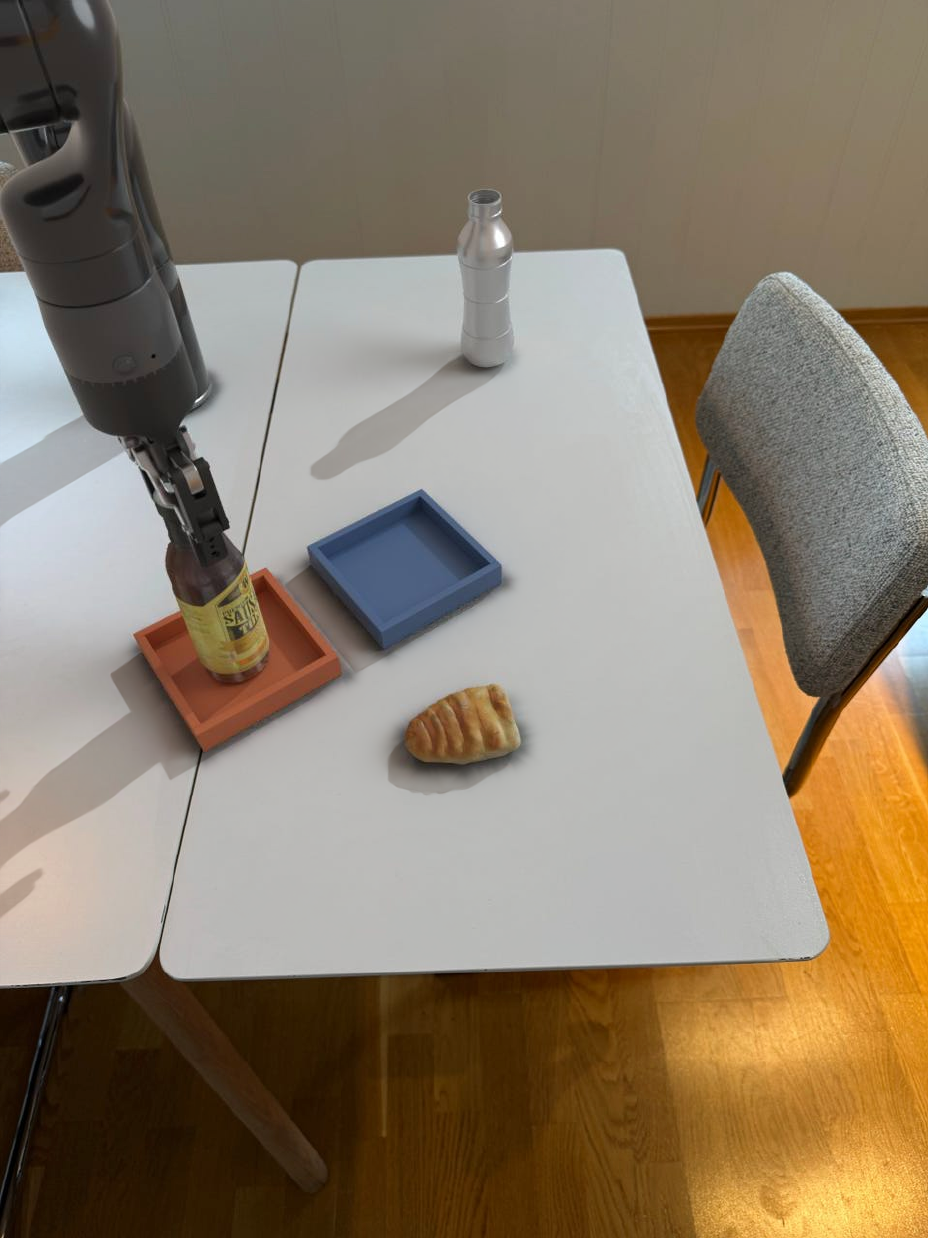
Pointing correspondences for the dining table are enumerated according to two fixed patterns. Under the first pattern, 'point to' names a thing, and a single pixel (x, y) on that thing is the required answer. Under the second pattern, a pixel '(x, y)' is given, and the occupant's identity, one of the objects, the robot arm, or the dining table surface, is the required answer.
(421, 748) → the pastry
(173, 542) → the sauce bottle
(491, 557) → the blue tray
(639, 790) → the dining table surface
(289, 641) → the terracotta tray
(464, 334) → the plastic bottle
